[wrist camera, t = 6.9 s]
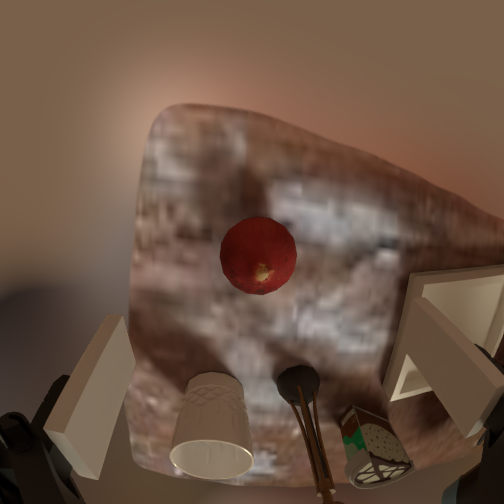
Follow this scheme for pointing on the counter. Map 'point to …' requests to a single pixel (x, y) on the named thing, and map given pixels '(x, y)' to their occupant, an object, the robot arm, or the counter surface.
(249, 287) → the onion
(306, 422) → the wooden tabletop sculpture
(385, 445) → the food container
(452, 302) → the tray
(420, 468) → the counter surface
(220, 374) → the white cup
